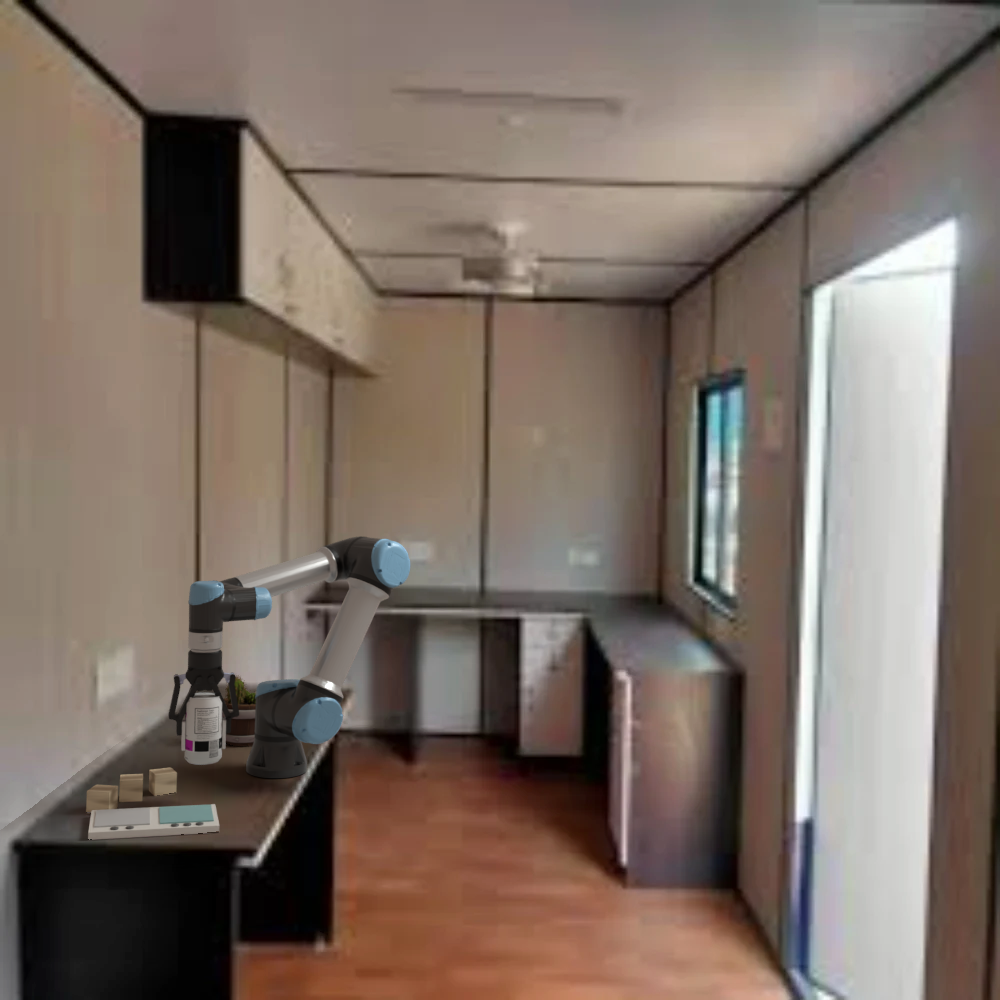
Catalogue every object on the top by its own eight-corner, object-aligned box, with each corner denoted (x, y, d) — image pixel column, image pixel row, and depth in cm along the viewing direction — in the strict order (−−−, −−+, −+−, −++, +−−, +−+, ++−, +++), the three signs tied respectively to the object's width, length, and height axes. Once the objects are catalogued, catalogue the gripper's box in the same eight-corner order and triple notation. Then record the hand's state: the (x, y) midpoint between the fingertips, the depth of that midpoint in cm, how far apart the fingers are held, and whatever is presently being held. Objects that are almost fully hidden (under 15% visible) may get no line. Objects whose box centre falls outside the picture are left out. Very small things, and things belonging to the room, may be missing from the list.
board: (91, 817, 242) (91, 808, 242) (214, 810, 250) (215, 802, 250) (88, 839, 228) (88, 831, 228) (219, 832, 236) (219, 824, 236)
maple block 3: (148, 790, 263) (149, 769, 263) (170, 788, 266) (170, 767, 266) (154, 796, 259) (155, 775, 259) (176, 793, 262) (177, 772, 262)
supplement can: (177, 763, 253) (178, 697, 252) (197, 754, 261) (198, 690, 260) (208, 767, 250) (210, 700, 250) (228, 757, 258) (229, 693, 258)
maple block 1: (95, 806, 250) (96, 784, 250) (117, 808, 249) (118, 785, 249) (86, 813, 245) (86, 790, 245) (108, 814, 244) (109, 792, 244)
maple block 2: (119, 796, 258) (120, 774, 258) (142, 795, 260) (143, 773, 260) (119, 802, 253) (119, 780, 253) (142, 801, 255) (143, 779, 255)
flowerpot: (246, 733, 322) (248, 664, 321) (280, 743, 312) (283, 672, 311) (204, 741, 310) (206, 669, 310) (238, 752, 301) (241, 678, 300)
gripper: (157, 653, 248) (155, 755, 249) (253, 651, 254) (251, 750, 255) (156, 647, 255) (155, 746, 256) (250, 645, 261) (248, 741, 262)
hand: (203, 748), depth 255 cm, fingers closed on supplement can, 8 cm apart
